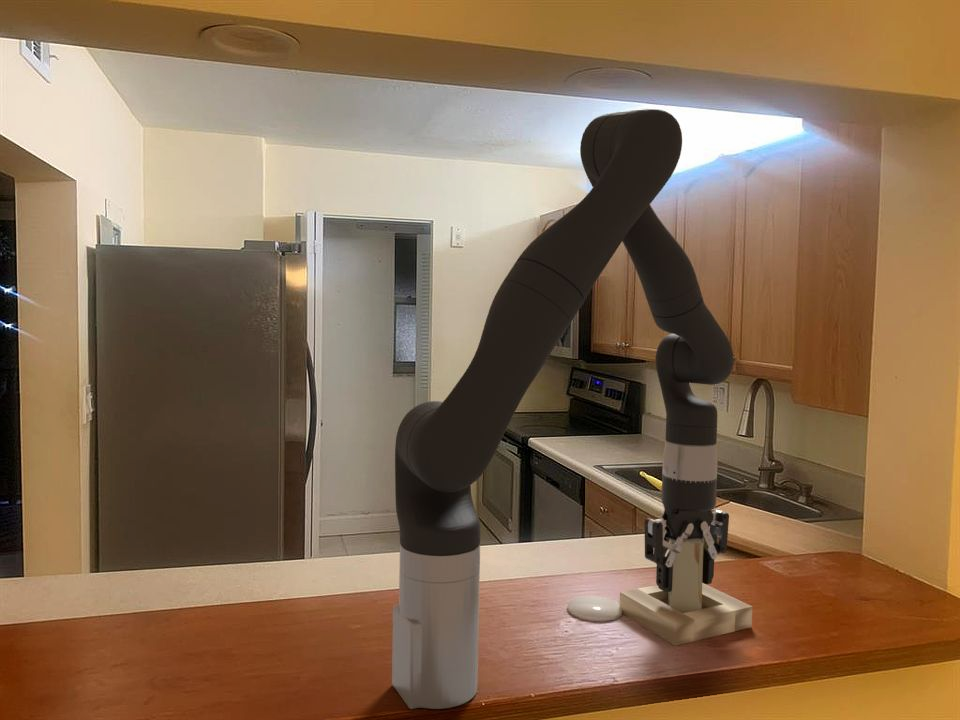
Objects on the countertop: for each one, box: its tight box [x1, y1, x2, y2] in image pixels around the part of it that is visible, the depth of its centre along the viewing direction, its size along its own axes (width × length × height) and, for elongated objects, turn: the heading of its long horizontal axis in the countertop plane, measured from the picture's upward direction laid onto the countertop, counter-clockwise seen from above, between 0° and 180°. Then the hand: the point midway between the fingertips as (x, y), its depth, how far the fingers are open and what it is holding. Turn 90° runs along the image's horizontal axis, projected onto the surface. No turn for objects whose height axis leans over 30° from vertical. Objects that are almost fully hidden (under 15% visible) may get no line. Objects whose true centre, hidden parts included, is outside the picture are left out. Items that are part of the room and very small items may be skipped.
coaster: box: [567, 595, 623, 623], centre depth 106 cm, size 8×8×1 cm
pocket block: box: [619, 583, 753, 647], centre depth 103 cm, size 14×12×3 cm
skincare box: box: [668, 538, 704, 613], centre depth 103 cm, size 6×4×12 cm
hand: (685, 586), depth 103 cm, fingers closed on skincare box, 7 cm apart
